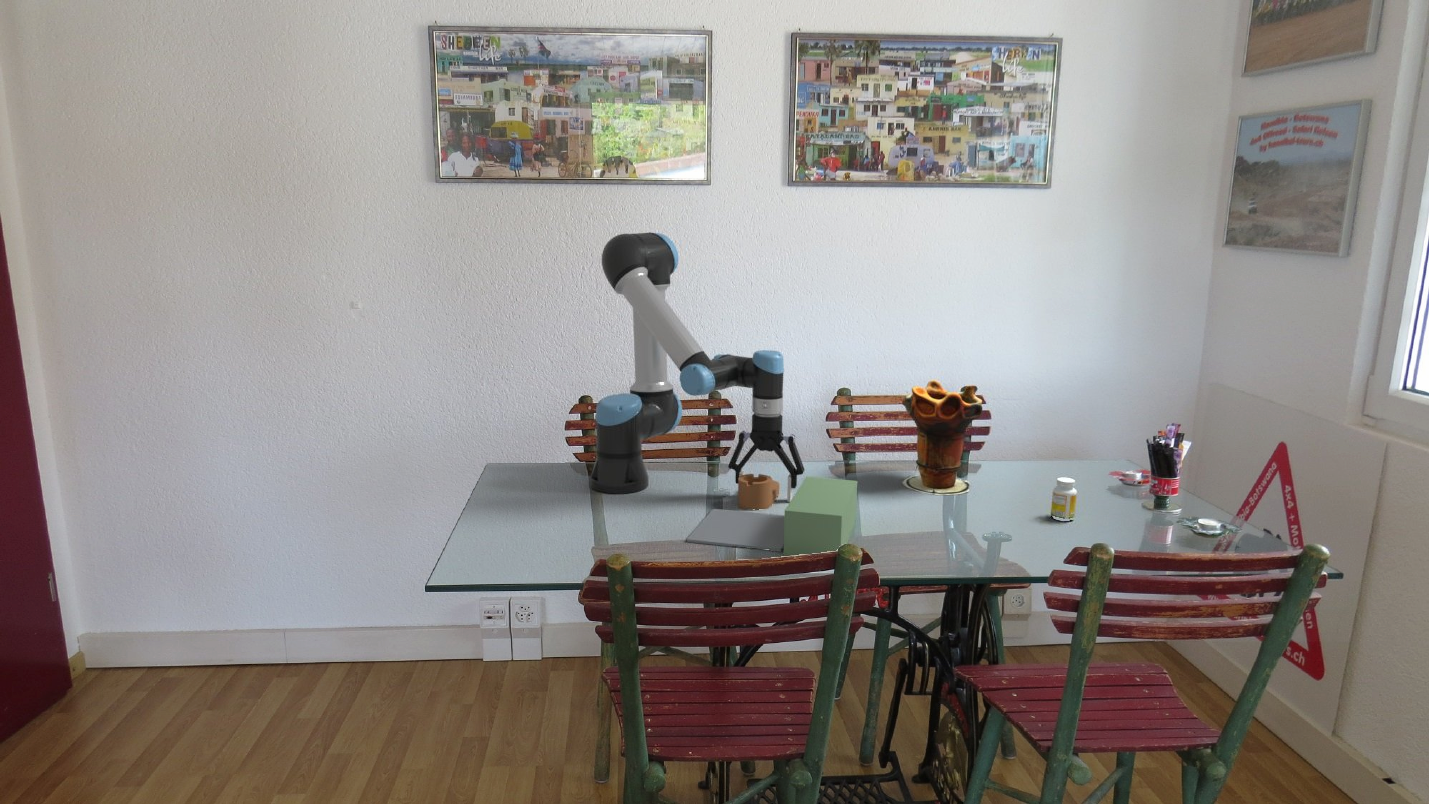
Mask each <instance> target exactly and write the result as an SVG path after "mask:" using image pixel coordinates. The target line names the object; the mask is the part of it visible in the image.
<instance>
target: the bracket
mask: <svg viewBox="0 0 1429 804" xmlns="http://www.w3.org/2000/svg"><path fill="white" fill-rule="evenodd" d="M778 494H779V495H780V483H779V482H778V481H776V480H774V479H773V478H772V477H771V476H770V475H767V474H762V473H759V474H758V475H757V476H755V474H754V473H747V474H746V473H745V475H742V476H740V477H739V478H738V484H737V506H738V507H739V508H741V509H743V510H747V509H755V510H754V511H760V510H759V509H765V510H768V509H770V508H771V507H772V506H773V505H774V503H775V502H774V501H776V500H777V499H776V498H778V497H779V495H778ZM777 496H778V497H777ZM775 499H776V500H775ZM772 504H773V505H772ZM770 506H771V507H770ZM769 507H770V508H769Z"/></svg>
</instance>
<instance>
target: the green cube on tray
mask: <svg viewBox="0 0 1429 804" xmlns="http://www.w3.org/2000/svg"><path fill="white" fill-rule="evenodd" d="M857 496H858V480H853V479H851V480H849V479H840V478H839V479H838V478H828V477H815V476H806V477H804V480H803V481H802V483H801V484H800V486H799V488H798V489H797V491H796V492H795V493H794V495H793V496H792V500H791V501H790V502H788V504H787V506H786V507H785V509H784V515H783V514H772V513H761V512H752V511H751V512H750V511H742V510H741V511H740V510H730V509H721V508H720V509H719V508H713V509H712V510H711V511H710V512H709V513H708V514H707V516H705V518H703V520H702V521H701V522H700V523H699V524H698V526H697V527H696V528H695V529H694V530H693V531H692V533H690V535H689V536H688V537H687V538H686V542H687V543H693V544H702V545H703V544H704V545H712V546H713V545H715V546H722V547H732V546H734V548H736V547H735V546H738V547H737V548H740V547H748V548H747V549H750V548H758V549H757V550H759V549H769V550H772V552H778V551H779V552H778V553H780V552H782V551H783V556H785V557H790V556H789V555H799V554H812V553H821V552H827V551H836V550H837V549H839V546H841V545H842V544H845V543H847V544H848V543H849V540H850V537H851V535H852V533H853V530H854V527H855V526H856V520H857V499H858V498H857ZM732 548H733V547H732ZM769 550H768V551H769Z"/></svg>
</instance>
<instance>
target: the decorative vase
mask: <svg viewBox="0 0 1429 804" xmlns="http://www.w3.org/2000/svg"><path fill="white" fill-rule="evenodd" d="M976 392H978V386H976V385H974V384H969V385H967V386H965V388H964V391H959V392H952V391H951V392H950V391H949V392H948V391H947V390H946V389H944V388H943V387H942V385H941V383H940V382H939V381H938V380H935V379H931V380H929V381H928V383H927V385H926V386H925V388H923V387H921V386H913V387H912V388H911V393H909V394H907V395H905V396H904V397H903V399H902V402H901V404H902V406H904V408H905V410H906V413H907V415H908V416H910V417H911V419H912V420H913V422H914V423H915V425H916V433H917V437H916V438H917V440H916V453H917V460H915V463H916V468H915V470H914V472H916V471H917V469H918V472H919V475H914V476H909V477H907V478H905V479H904V480H903V481H902V482H901V484H903V486H904V487H906V488H907V489H909V490H913V491H916V492H919V493H923V494H928V495H936V496H944V495H947V496H948V495H949V496H952V495H963V494H966V493H968V492H970V489H969V487H970V482H969V481H968V480H963V479H961V478H957V474H958V471H959V470H960V468H961V467H962V469H963V472H964V468H963V466H962V465H963V464H962V462H961V459H962V456H963V455H962V454H963V451H964V443H965V435H966V432H967V431H966V430H967V428H968V427H969V426H970V424H971V423H972V422H973V421H974V420H976V419H979V418H980V417H981V416H982V415H983V405H982V404H983V400H982V399H981V398H979V397H978V396H976Z"/></svg>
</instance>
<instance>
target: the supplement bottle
mask: <svg viewBox="0 0 1429 804" xmlns="http://www.w3.org/2000/svg"><path fill="white" fill-rule="evenodd" d="M1075 486H1076V480H1075V479H1073V478H1072V477H1071V478H1070V477H1057V479H1056V486H1054V487H1053V489H1052V498H1051V508H1050V516H1051V515H1052V516H1055V517H1059V518H1063V519H1070V518H1073V517H1074V518H1075V515H1076V514H1075V513H1076V506H1077V505H1076V504H1077V495H1078V490H1077V489H1075Z"/></svg>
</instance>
